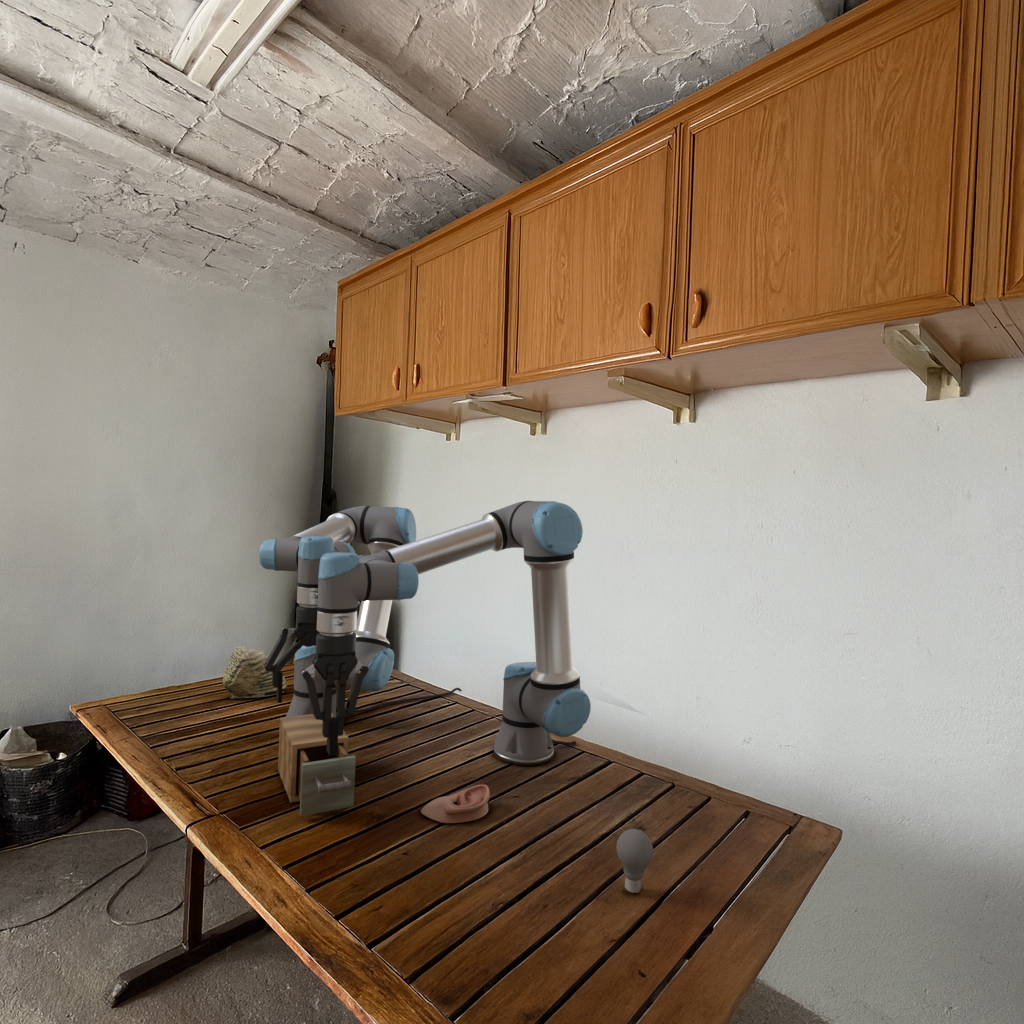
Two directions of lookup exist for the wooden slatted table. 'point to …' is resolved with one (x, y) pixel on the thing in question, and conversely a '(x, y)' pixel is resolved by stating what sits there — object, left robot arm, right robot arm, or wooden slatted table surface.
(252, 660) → the fossil
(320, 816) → the wooden slatted table surface
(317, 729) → the cabinet
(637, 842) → the light bulb
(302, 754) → the drawer
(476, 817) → the anatomical model
